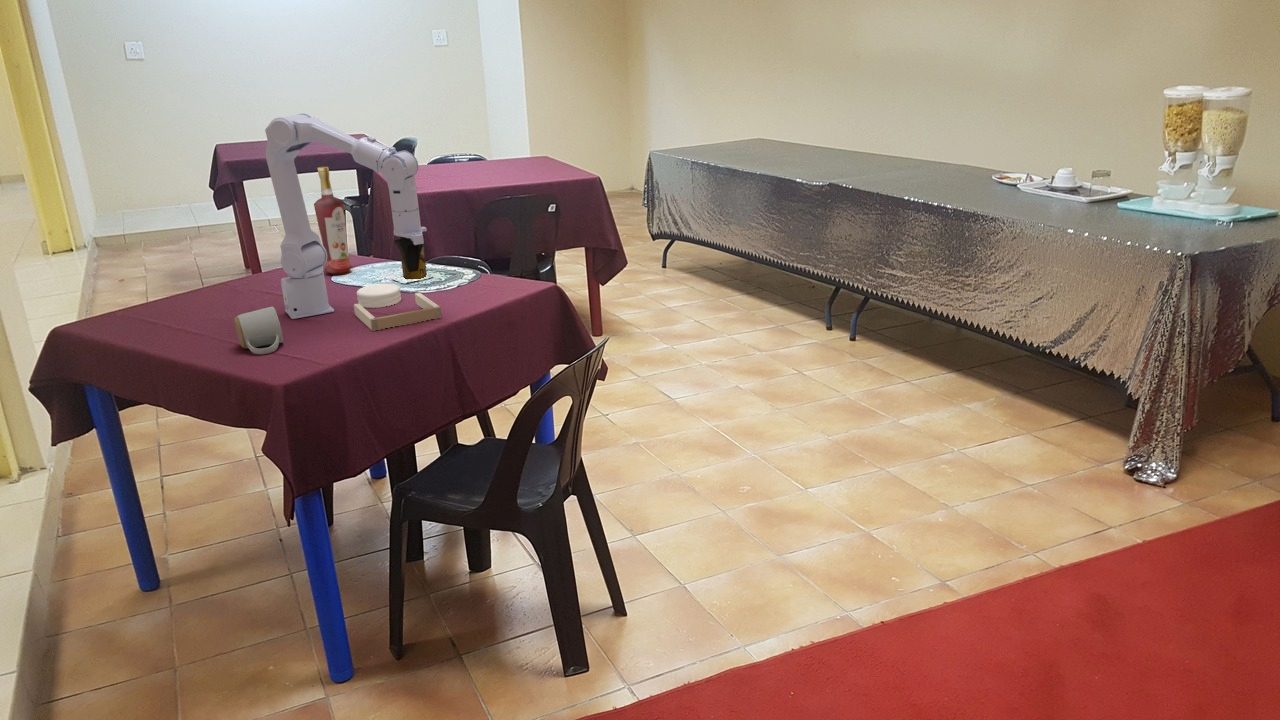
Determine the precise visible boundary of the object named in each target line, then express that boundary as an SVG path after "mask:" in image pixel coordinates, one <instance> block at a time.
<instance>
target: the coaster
mask: <svg viewBox="0 0 1280 720" xmlns="http://www.w3.org/2000/svg"><path fill="white" fill-rule="evenodd" d="M401 293H402V292H401V288H400V286H399V285H398V284H394V283H377V284H370V285H367V286H364V287H361V288H358V290H357V291H356V295H357V296H356V297H357V304H360V305H361V306H362V307H364V308H365V309H380V308H386V306H387V307H392V306H394V304H395V305H397V304H399V303H400V302H401V301H402V297H401V295H402V294H401ZM391 305H392V306H391Z"/></svg>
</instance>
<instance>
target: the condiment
mask: <svg viewBox="0 0 1280 720" xmlns="http://www.w3.org/2000/svg"><path fill="white" fill-rule="evenodd" d="M399 239H401V237H400V236H399ZM399 253H400V260H401V261H400V262H401V263H400V264H401V269H402V276H403V277H404V278H405V279H421V278H424V277H426V275H427V276H428V274H427V273H428V272H427V262H426V255H425V246H424V245H423V247H422V250H421V254H420V261H419V269H418V271H414V272H408V271H407V268H406V266H405V263H404V260H403V257H402V255H401V252H400V251H399Z"/></svg>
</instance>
